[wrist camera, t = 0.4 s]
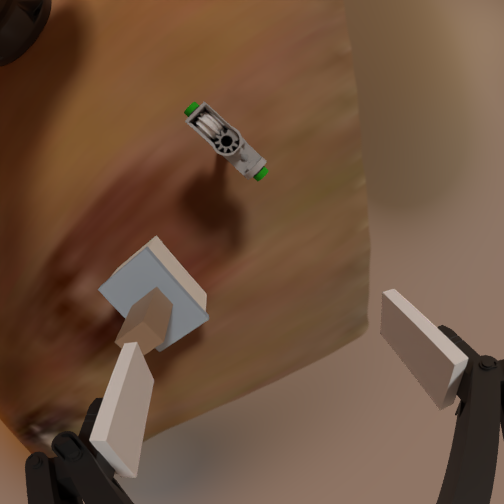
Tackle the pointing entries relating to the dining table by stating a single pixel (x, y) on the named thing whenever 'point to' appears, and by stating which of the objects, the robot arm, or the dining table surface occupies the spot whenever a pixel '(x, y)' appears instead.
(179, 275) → the box
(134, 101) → the dining table surface
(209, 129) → the mechanical component
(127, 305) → the lid
